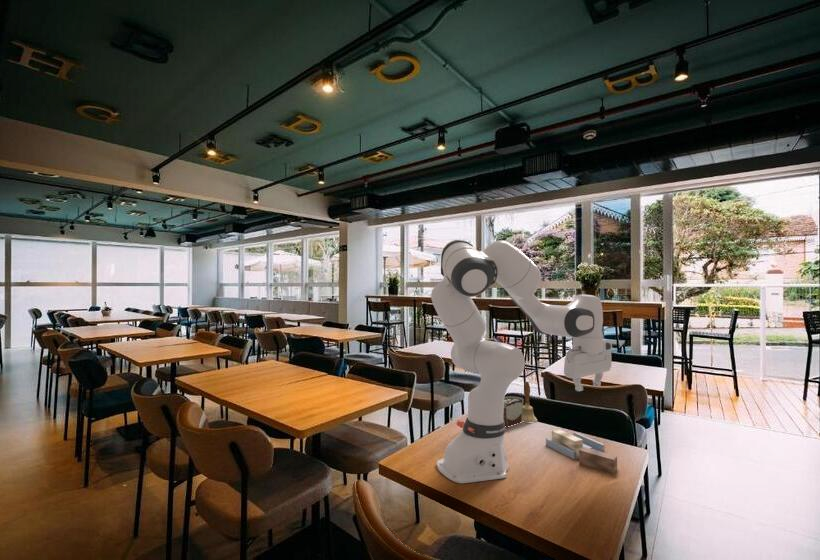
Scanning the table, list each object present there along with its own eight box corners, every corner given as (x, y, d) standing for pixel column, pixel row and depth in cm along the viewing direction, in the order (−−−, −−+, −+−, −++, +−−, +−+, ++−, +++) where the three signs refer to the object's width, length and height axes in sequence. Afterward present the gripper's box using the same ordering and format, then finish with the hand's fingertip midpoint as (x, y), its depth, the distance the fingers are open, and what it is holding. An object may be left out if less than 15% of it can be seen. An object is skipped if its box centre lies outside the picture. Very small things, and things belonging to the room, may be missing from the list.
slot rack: (573, 461, 124) (573, 452, 124) (545, 447, 135) (545, 438, 135) (604, 453, 130) (604, 444, 130) (575, 440, 141) (575, 432, 141)
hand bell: (534, 424, 157) (534, 385, 157) (514, 420, 161) (514, 382, 161) (539, 418, 164) (539, 381, 164) (520, 415, 168) (520, 378, 168)
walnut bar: (617, 472, 118) (617, 456, 118) (614, 476, 115) (614, 459, 115) (582, 462, 124) (582, 446, 124) (579, 466, 121) (579, 450, 122)
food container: (511, 417, 164) (511, 394, 164) (523, 422, 159) (523, 397, 160) (492, 424, 157) (492, 399, 157) (504, 428, 152) (505, 403, 152)
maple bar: (582, 454, 127) (582, 439, 127) (575, 456, 126) (575, 441, 126) (559, 443, 136) (559, 429, 136) (551, 445, 135) (551, 430, 135)
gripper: (576, 349, 115) (577, 396, 115) (615, 343, 126) (615, 385, 126) (558, 346, 120) (558, 391, 120) (596, 341, 131) (597, 381, 131)
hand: (588, 388), depth 123 cm, fingers open, 8 cm apart
